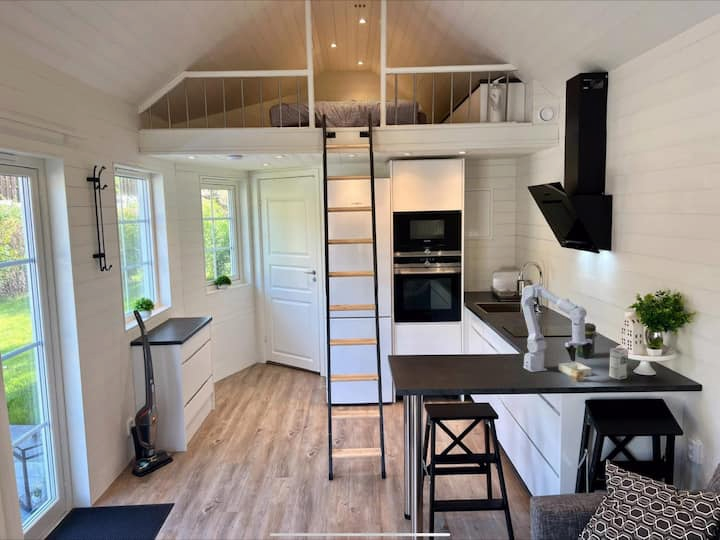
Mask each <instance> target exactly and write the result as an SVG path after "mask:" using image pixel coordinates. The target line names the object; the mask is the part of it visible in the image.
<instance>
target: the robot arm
mask: <svg viewBox="0 0 720 540" xmlns="http://www.w3.org/2000/svg"><path fill="white" fill-rule="evenodd" d="M521 294H522V295H521V299H520V304H521V308H522V311H523V316H524V320H525V323H526V327H527V331H528V337H527V345H526V346H527V350H528V352H527V353H526V352H525V353H524V356H523V366H522V368H524V369H525V370H527V371H529V372H531V373H534V372H544V371H548V369H547V368H546V367H545V350H546V349H547V347H548V343H547V341H546V339H545V337H544V335H543V334H542V333H541V332H540V328H539V324H538V320H537V315H536V313H535V311H536V310H535V308H534V302H535V301H536V299H537V298H544V299H546V300H548V301H550V302H552V303H553V304H556V307H557V308H558V309H559V310H560V311H562V312H564V313H565V314H567V315H568V316H569V318H570V319H571V339H572V340H570V341H567V342H565V343H564V346H565V347H564V348H565V349H566V351H567V353H568V355H569V358H570V361H571V362H576V353H577V352H576V351H577V350H578V345H581V346H582V350H583V357H582V358H583V359H584V360H588V359H589V358H588V355H589V352H590V350H591V348H592V340H591V339H585V324H586V322H585V321H586V317H587V313H588V312H587V310H586V308H584V306H581V305H579V306H578V304H575V303H573V302H571V301H570V299H569V298H560V297H559V296H557V295H555V294H554V293H553V292H551V291H550V290H548V289H547V288H546V287H545V286H543V285H541V284H539V283H535V284H530V285H526V286H524V288H523V289H522V290H521ZM575 346H577V347H575Z"/></svg>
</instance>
